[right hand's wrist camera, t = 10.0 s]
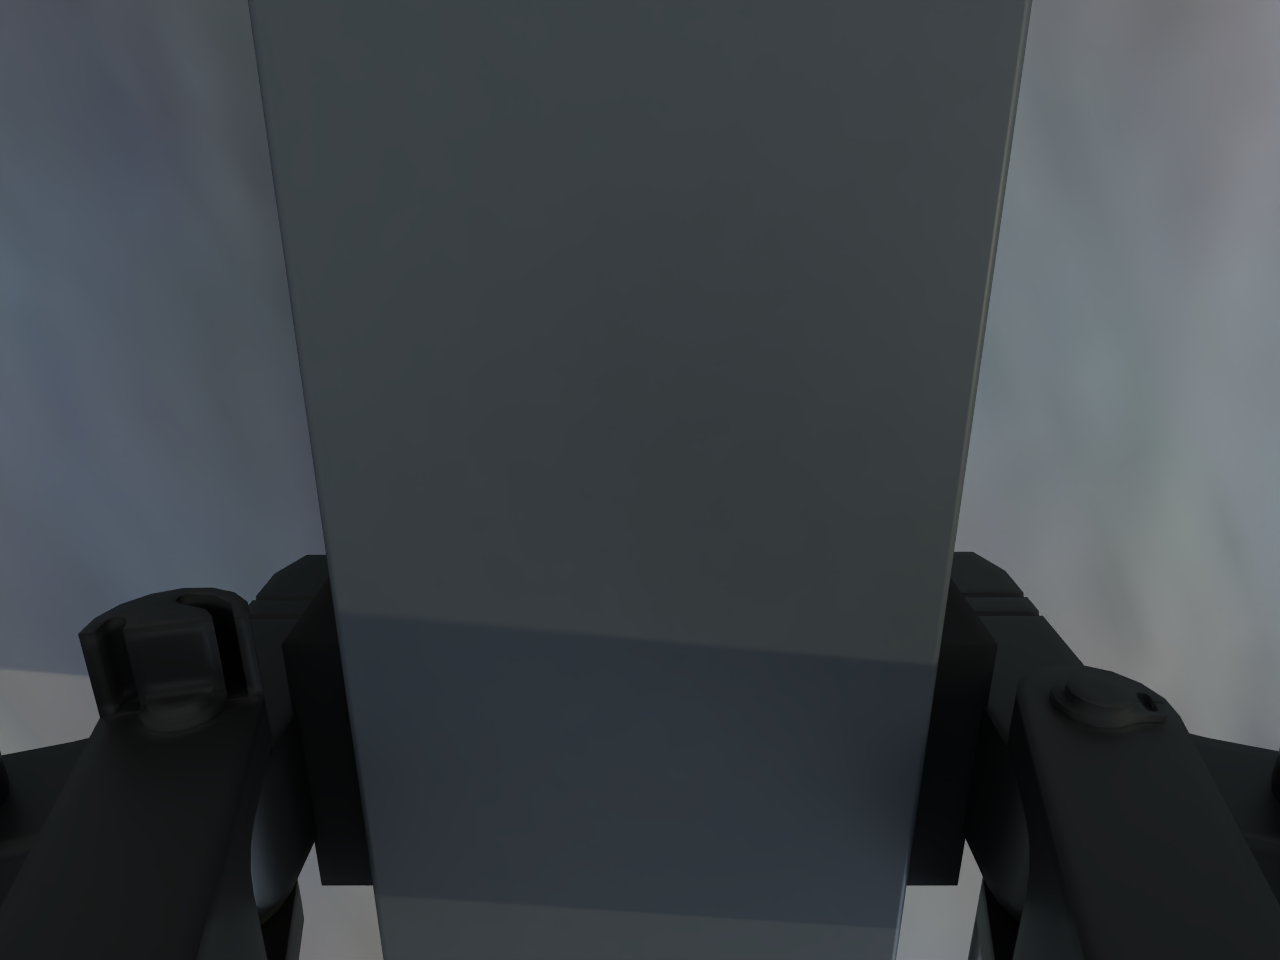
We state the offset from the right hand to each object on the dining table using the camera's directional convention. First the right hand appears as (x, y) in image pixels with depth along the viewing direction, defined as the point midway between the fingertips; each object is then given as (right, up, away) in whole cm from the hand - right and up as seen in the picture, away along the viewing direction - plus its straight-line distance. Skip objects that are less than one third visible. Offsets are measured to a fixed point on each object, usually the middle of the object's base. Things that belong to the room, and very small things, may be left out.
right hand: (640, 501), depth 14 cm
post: (0, +25, -9) cm, 26 cm away
